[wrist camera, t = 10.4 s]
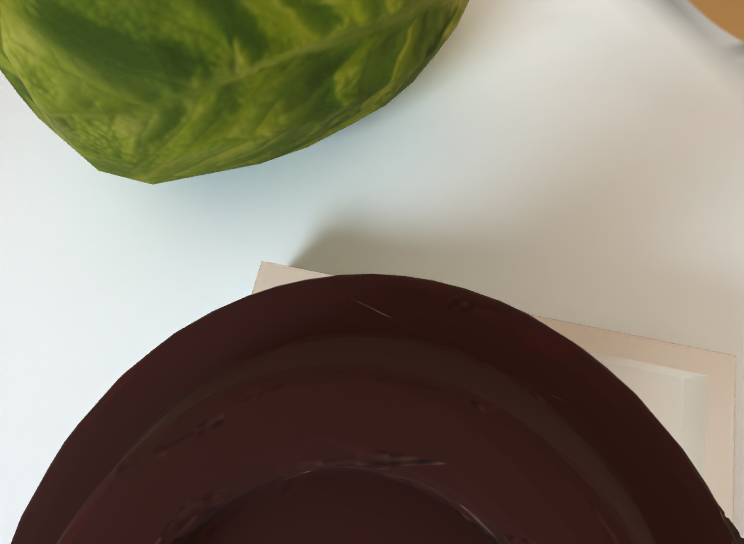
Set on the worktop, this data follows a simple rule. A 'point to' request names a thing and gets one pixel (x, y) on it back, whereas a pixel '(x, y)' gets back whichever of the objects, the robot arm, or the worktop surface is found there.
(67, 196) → the worktop surface
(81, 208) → the worktop surface
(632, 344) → the tray
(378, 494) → the coffee cup
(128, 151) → the lettuce
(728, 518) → the robot arm
